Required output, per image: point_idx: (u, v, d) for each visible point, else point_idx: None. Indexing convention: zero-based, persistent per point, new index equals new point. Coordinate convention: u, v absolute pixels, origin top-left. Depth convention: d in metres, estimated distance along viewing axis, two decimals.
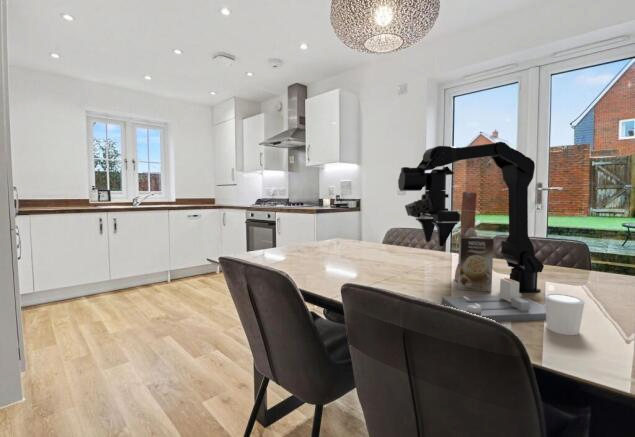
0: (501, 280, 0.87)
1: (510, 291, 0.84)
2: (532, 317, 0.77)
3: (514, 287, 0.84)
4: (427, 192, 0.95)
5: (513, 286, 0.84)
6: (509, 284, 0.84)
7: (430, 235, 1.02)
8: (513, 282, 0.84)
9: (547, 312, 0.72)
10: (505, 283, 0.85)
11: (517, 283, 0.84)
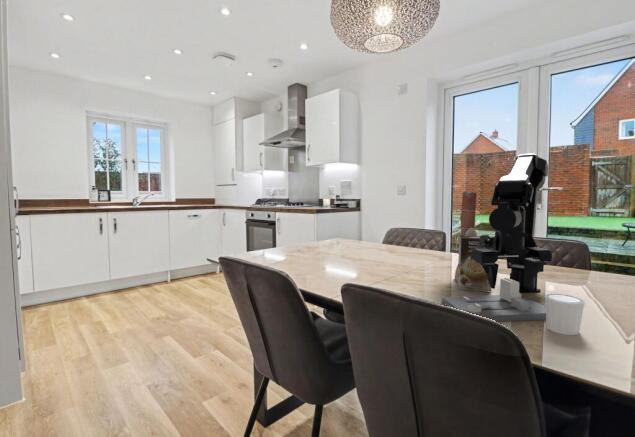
0: (501, 280, 0.87)
1: (510, 291, 0.84)
2: (532, 317, 0.77)
3: (514, 287, 0.84)
4: None
5: (513, 286, 0.84)
6: (509, 284, 0.84)
7: (527, 280, 0.85)
8: (513, 282, 0.84)
9: (547, 312, 0.72)
10: (505, 283, 0.85)
11: (517, 283, 0.84)
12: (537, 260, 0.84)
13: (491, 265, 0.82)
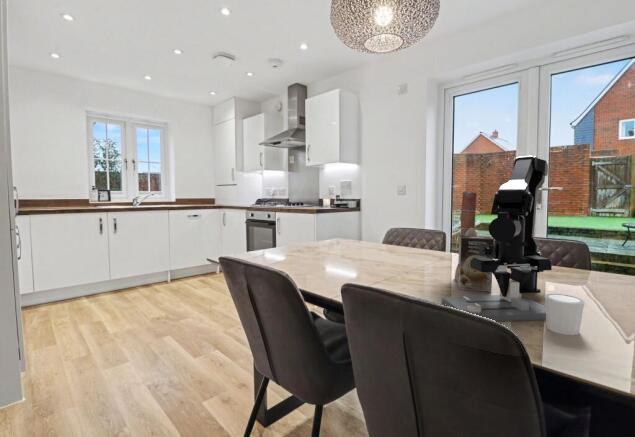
0: None
1: (510, 291, 0.84)
2: (532, 317, 0.77)
3: (514, 287, 0.84)
4: None
5: (513, 286, 0.84)
6: (509, 284, 0.84)
7: None
8: (513, 282, 0.84)
9: (547, 312, 0.72)
10: None
11: (517, 283, 0.84)
12: (525, 269, 0.84)
13: (503, 274, 0.82)
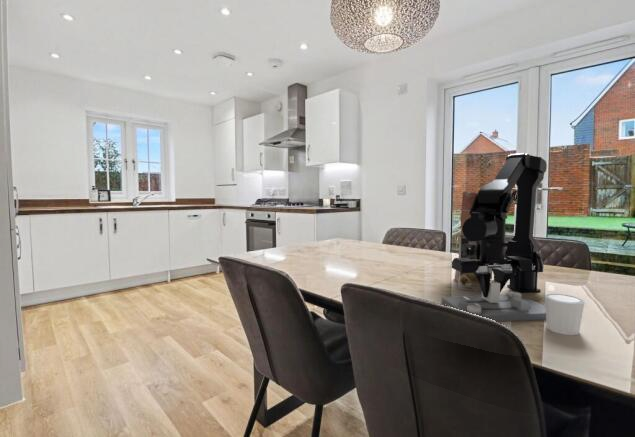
0: None
1: (491, 292, 0.83)
2: (532, 317, 0.77)
3: (495, 288, 0.83)
4: None
5: (494, 287, 0.83)
6: (490, 285, 0.84)
7: None
8: (494, 283, 0.83)
9: (547, 312, 0.72)
10: None
11: (498, 284, 0.83)
12: (506, 270, 0.84)
13: (483, 274, 0.82)
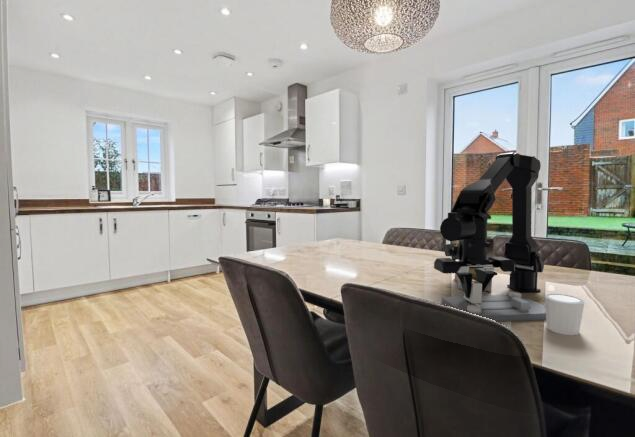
0: None
1: (473, 292, 0.83)
2: (532, 317, 0.77)
3: (477, 288, 0.83)
4: None
5: (476, 288, 0.83)
6: (472, 286, 0.83)
7: None
8: (476, 283, 0.83)
9: (547, 312, 0.72)
10: None
11: (480, 284, 0.83)
12: (488, 270, 0.83)
13: (465, 275, 0.82)
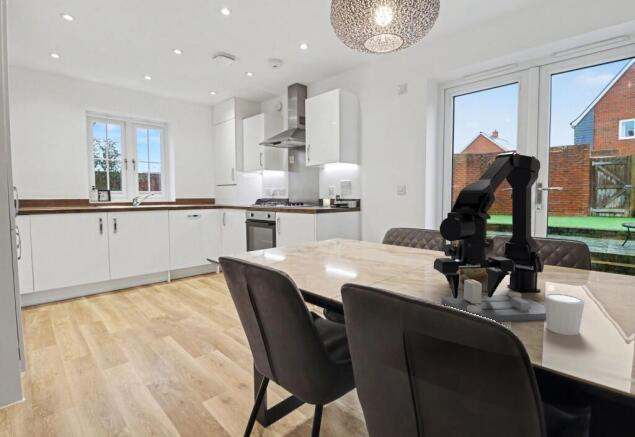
0: (465, 281, 0.86)
1: (473, 292, 0.83)
2: (532, 317, 0.77)
3: (476, 288, 0.83)
4: None
5: (475, 288, 0.83)
6: (471, 286, 0.83)
7: (490, 290, 0.85)
8: (475, 283, 0.83)
9: (547, 312, 0.72)
10: (468, 284, 0.85)
11: (479, 284, 0.83)
12: (499, 270, 0.84)
13: (452, 275, 0.81)
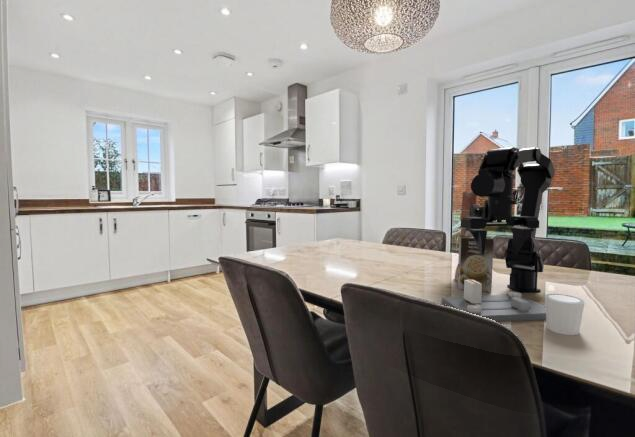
0: (465, 281, 0.86)
1: (473, 292, 0.83)
2: (532, 317, 0.77)
3: (476, 288, 0.83)
4: None
5: (475, 288, 0.83)
6: (471, 286, 0.83)
7: (516, 247, 0.88)
8: (475, 283, 0.83)
9: (547, 312, 0.72)
10: (468, 284, 0.85)
11: (479, 284, 0.83)
12: (525, 227, 0.87)
13: (480, 231, 0.85)
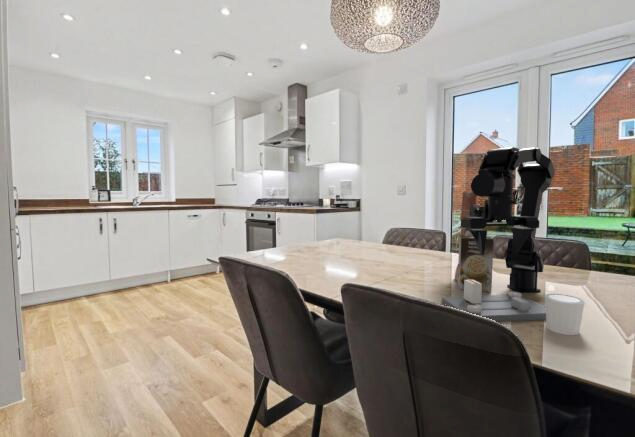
0: (465, 281, 0.86)
1: (473, 292, 0.83)
2: (532, 317, 0.77)
3: (476, 288, 0.83)
4: None
5: (475, 288, 0.83)
6: (471, 286, 0.83)
7: (516, 247, 0.88)
8: (475, 283, 0.83)
9: (547, 312, 0.72)
10: (468, 284, 0.85)
11: (479, 284, 0.83)
12: (525, 227, 0.87)
13: (480, 231, 0.85)
